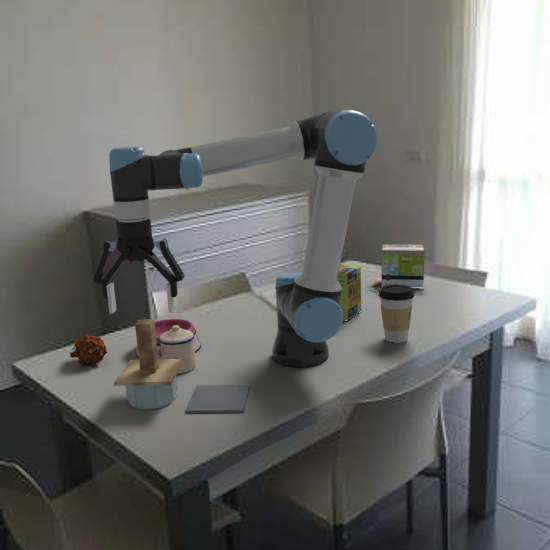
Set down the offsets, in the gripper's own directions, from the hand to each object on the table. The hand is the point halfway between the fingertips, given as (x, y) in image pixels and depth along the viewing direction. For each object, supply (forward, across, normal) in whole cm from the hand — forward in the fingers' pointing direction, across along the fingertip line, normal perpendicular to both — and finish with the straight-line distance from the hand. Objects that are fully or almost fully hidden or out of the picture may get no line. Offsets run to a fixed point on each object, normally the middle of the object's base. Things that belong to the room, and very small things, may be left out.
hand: (142, 311), depth 140 cm
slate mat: (+22, -16, +1) cm, 27 cm away
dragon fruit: (+22, +23, -23) cm, 39 cm away
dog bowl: (+22, +3, -32) cm, 39 cm away
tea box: (+21, -71, -89) cm, 116 cm away
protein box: (+22, -45, -59) cm, 77 cm away
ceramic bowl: (+22, 0, 0) cm, 22 cm away
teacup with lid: (+22, -2, -17) cm, 28 cm away
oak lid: (+15, 0, 0) cm, 15 cm away
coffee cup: (+21, -62, -35) cm, 74 cm away
